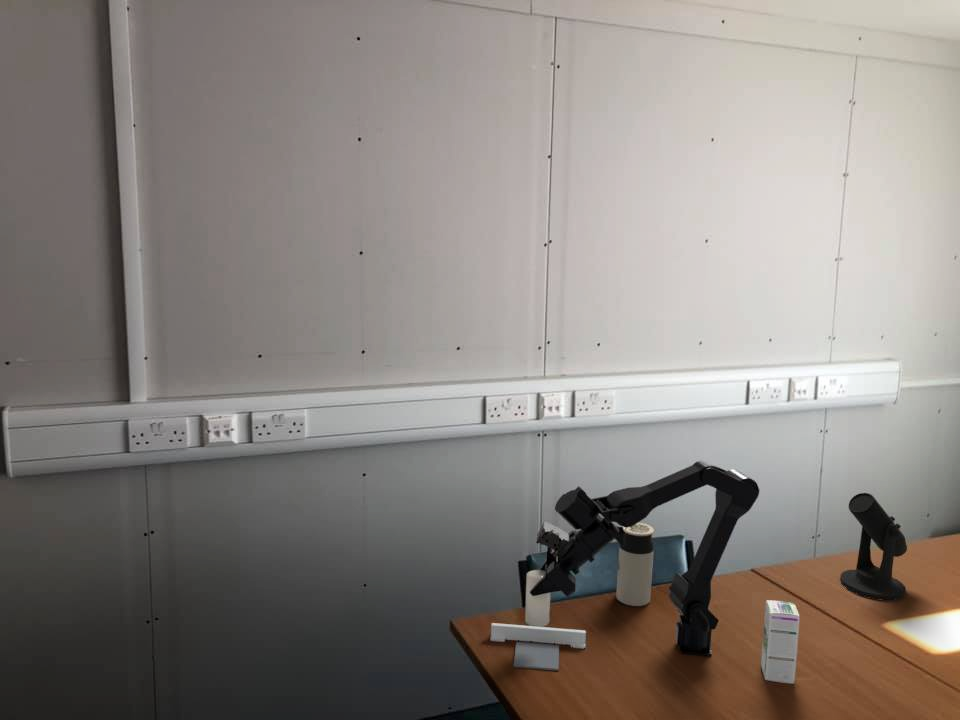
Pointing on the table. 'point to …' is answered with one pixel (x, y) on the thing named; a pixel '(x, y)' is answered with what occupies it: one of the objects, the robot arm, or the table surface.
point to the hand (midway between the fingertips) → (531, 588)
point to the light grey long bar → (538, 634)
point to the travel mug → (635, 565)
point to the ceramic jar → (536, 602)
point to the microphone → (885, 536)
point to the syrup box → (780, 641)
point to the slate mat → (536, 656)
